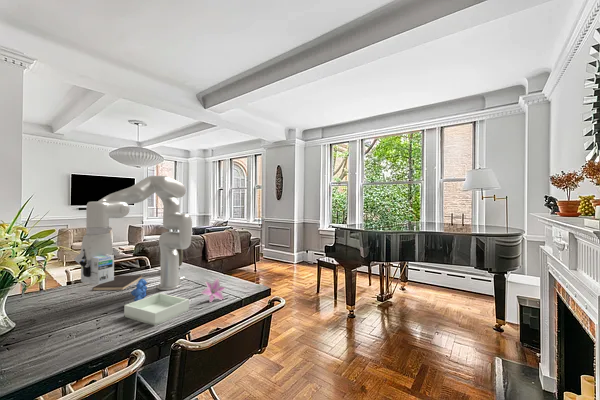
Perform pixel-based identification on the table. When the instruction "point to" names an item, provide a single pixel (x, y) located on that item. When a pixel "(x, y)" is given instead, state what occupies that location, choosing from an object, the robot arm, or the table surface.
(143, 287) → the grapes
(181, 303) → the bin
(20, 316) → the table surface
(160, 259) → the tabletop clock
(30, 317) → the table surface
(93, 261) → the light bulb box
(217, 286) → the lily
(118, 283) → the hardcover book
